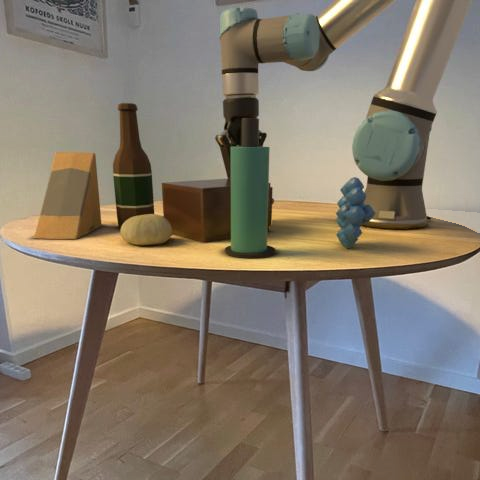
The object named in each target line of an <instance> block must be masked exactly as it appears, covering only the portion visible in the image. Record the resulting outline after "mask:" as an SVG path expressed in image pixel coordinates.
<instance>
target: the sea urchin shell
mask: <svg viewBox="0 0 480 480" xmlns="http://www.w3.org/2000/svg"><path fill="white" fill-rule="evenodd" d="M119 231H120V237H121V238H122V240H123V241H125V242H126V243H128V244H131V245H135V246H155V245H161V244H165V243H167V242H168V241H169V240H170V239H171V237H172V235H173V234H172V227H171V224H170V223H169V222H168V220H166V219H165V218H164V216H163V215H160V214H155V213H154V214H146V215H138V216H134V217H131V218H129V219H128V220H126V221H125V222H124V223H123V225H122V226H121V228H120V230H119Z"/></svg>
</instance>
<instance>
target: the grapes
mask: <svg viewBox="0 0 480 480" xmlns="http://www.w3.org/2000/svg"><path fill="white" fill-rule="evenodd" d="M364 188H365V186H364V183H363V182H362V181H361V179H360V178H359V177H356V176H354V177H351V178H350V179H349V180H348V181H346V182H345V183H344V184H343V186H342V187H341V188H340V189H339V190H340V192H341V194H342V195H343V196H342V197H340V199H339V200H338V201H337V202H336V204H337V206H338V208H339V209H337V211H336V212H335V215H336V219H335V223H336V224H337V225H338V227H339V228H340V229H339V230H338V231H337V232H336V234H335V235H336V237H337V238H338V241H339V243H340V244H341V245H342V246H343V248H345V249H349V248H352V247H353V246H354V245H355V244H356V243H357V241H358V240H359V239H358V238H359V237H361V235H362V234H363V231H362V229H361V227H362V226H363V225H362V224H363V223H366V222H369V221H370V220H371V219H372V218H373V217H374V215H375V212H374V210H373V209H372V207H371V206H370V205H365V204H364V203H363V202H364V200H365V199H366V195H365V193H364V192H365V191H364Z"/></svg>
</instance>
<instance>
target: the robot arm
mask: <svg viewBox="0 0 480 480" xmlns="http://www.w3.org/2000/svg"><path fill="white" fill-rule="evenodd" d="M473 1H474V0H415V2H414V6H413V9H412V11H411V13H410V17H409V20H408V22H407V25H406V29H405V31H404V34H403V37H402V40H401V42H400V45H399V48H398V51H397V54H396V56H395V60H394V62H393V65H392V68H391V71H390V74H389V76H388V78H387V82H386V85H385V86H384V87H383V88H382V89H381V90H379V91H377V92H375V94H373V96H372V99H371V102H370V104H369V108H368V111H367V114H366V116H365V119H363V120H362V122H361V123H360V125H358V128H357V129H356V131H355V133H354V136H353V139H352V147H351V150H352V152H351V153H352V157H353V160H354V163H355V165H356V167H357V168H358V169H359V170H360V172H362V174H364V175H365V176H367V180H366V186H365V190H364V191H363V192H364V193H365V195H366V199H365V200H364V202H363V203H364V204H365V205H370V206H371V207H372V209H373V210H374V212H375V215H374V217H373V218H372V219H371V220H370V221H369V222H366V223H363V224H362V225H361V226H366V227H371V228H377V229H387V230H388V229H390V230H391V229H392V230H411V229H419V228H424V227H425V226H426V225H427V221H431V220H432V217H431V216H428V215H427V209H426V204H425V199H424V193H423V184H424V176H425V169H426V163H427V155H428V148H429V141H430V133H431V131H432V129H433V124H434V121H435V119H436V117H437V114H438V111H437V109H436V106H435V103H434V97H435V95H436V93H437V91H438V88H439V85H440V84H441V80H442V78H443V75H444V73H445V70H446V67H447V65H448V63H449V60H450V59H451V58H450V57H451V55H452V53H453V50H454V48H455V45H456V43H457V41H458V38H459V35H460V32H461V30H462V28H463V25H464V23H465V20H466V18H467V15H468V13H469V11H470V8H471V5H472V4H473ZM395 2H397V0H333V1H332V2H331V3H330V4H328V6H326V7H325V8H324V9H322V11H320V12H319V13H318V14H317V15H316V16H315V15H314V14H312V13H294V14H290V15H282V16H276V17H275V16H274V17H268V18H259V15H258V11H257V9H255V8H252V7H246V6H242V7H230V8H226V9H225V10H223V11H222V12H221V14H220V16H219V35H218V39H219V41H220V42H219V43H220V61H221V88H222V89H221V90H222V91H221V92H222V96H223V97H225V98H224V99H223V101H222V117H223V118H224V119H225V120H224V125H223V131H222V132H221V133H220V134H216V135H215V137H214V139H215V142H216V143H217V145H218V147H219V150H220V154H221V156H222V161H223V165H224V169H225V173H226V177H227V179H231V147H241V146H242V119H243V118H258V117H260V106H259V105H260V102H259V101H260V100H259V99H258V97H257V96H258V95H259V94H260V93H259V92H260V89H259V88H260V87H259V85H260V84H259V65H260V64H271V63H285V64H287V65H290V66H293V67H296V68H297V69H299V70H300V71H304V72H316V71H318V70H320V69H321V68H323V67H324V66H325V64H326V63H327V61H328V59H329V57H330V55H331V54H332V53H333V52H335V51H336V50H337V49H338V48H339V47H341V46H342V45H343V44H345V42H347V41H348V40H350V39H351V38H352V37H353V36H355V35H356V34H357V33H358V32H359V31H360V30H362V29H363V28H365V26H367V25H368V24H370V23H371V22H372V21H373V20H374V19H376V18H377V17H378V16H379V15H380V14H381V13H383V12H384V11H386V10H387V9H389V8H390V6H392V5H393V4H395ZM267 136H268V135H267V132H263V131H262V130H260V129H259V146H258V147H264V143H265V141H266V139H267Z"/></svg>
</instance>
